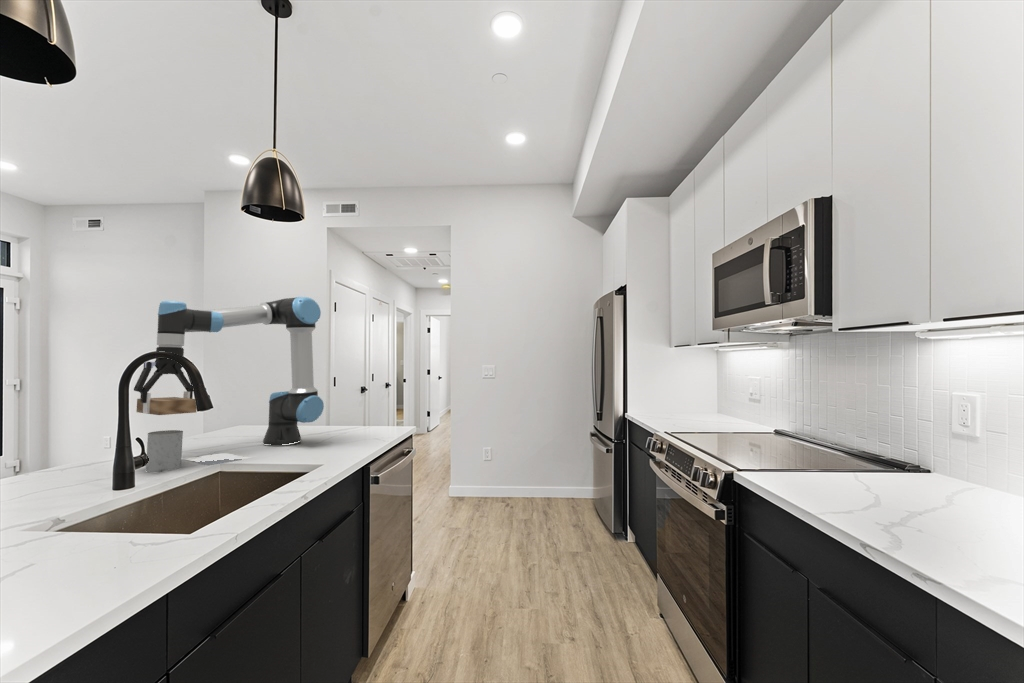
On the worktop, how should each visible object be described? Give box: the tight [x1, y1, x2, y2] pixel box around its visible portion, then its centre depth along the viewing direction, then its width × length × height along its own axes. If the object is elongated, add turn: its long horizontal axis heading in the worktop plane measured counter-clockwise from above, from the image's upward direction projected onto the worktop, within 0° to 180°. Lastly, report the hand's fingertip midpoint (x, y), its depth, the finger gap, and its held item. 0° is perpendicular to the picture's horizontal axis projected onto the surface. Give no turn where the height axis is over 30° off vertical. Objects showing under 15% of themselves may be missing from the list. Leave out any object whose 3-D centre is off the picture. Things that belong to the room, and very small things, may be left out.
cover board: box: [135, 396, 198, 416], centre depth 154 cm, size 11×15×4 cm
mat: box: [197, 459, 242, 466], centre depth 170 cm, size 16×20×1 cm
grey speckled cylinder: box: [145, 429, 184, 473], centre depth 154 cm, size 10×10×12 cm
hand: (166, 411), depth 154 cm, fingers closed on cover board, 11 cm apart
